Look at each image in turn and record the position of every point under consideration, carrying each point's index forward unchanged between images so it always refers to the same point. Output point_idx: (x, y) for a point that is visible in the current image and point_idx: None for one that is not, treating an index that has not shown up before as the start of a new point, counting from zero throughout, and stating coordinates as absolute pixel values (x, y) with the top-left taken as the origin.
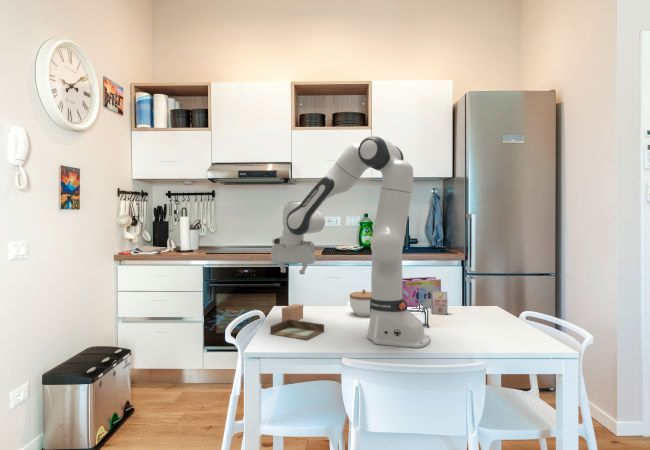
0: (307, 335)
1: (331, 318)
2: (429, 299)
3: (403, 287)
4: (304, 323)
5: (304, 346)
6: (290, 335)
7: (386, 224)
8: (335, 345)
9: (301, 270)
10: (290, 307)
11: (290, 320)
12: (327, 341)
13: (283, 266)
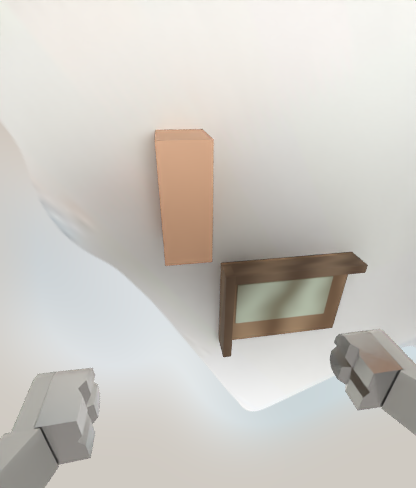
0: (322, 309)
1: (330, 51)
2: None
3: None
4: (296, 276)
5: None
6: (279, 328)
7: None
8: (401, 317)
9: (381, 403)
10: (191, 233)
11: (239, 283)
12: (378, 306)
13: (14, 465)
